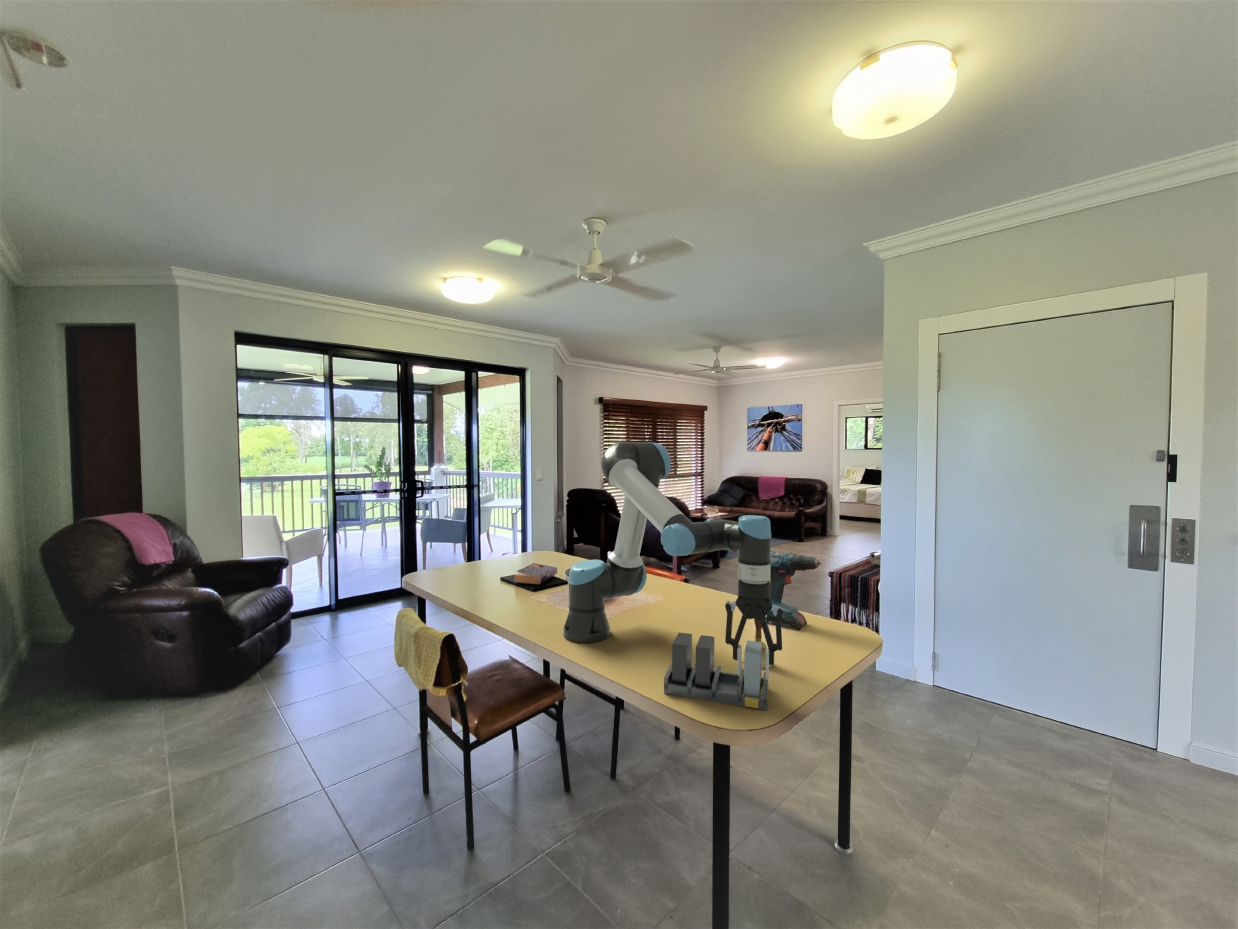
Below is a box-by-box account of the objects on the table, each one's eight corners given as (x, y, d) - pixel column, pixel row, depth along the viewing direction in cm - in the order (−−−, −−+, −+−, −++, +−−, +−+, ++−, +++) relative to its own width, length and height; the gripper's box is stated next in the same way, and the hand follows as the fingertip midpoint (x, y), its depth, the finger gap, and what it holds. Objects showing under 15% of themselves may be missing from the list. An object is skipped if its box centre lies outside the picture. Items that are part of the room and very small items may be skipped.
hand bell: (750, 654, 142) (750, 600, 141) (777, 662, 136) (778, 606, 136) (737, 663, 135) (738, 607, 135) (766, 672, 130) (766, 613, 130)
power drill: (817, 635, 157) (818, 559, 156) (749, 620, 171) (750, 550, 170) (824, 627, 164) (825, 554, 163) (759, 613, 178) (759, 546, 177)
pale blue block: (743, 699, 113) (744, 652, 113) (746, 683, 121) (747, 640, 121) (759, 701, 112) (759, 654, 112) (761, 686, 120) (761, 642, 119)
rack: (663, 694, 117) (663, 646, 117) (673, 674, 128) (673, 629, 128) (766, 712, 110) (767, 659, 109) (768, 688, 121) (768, 641, 120)
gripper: (712, 580, 115) (711, 676, 116) (796, 587, 109) (794, 688, 110) (716, 573, 123) (715, 663, 123) (795, 579, 117) (794, 674, 117)
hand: (753, 674), depth 116 cm, fingers open, 6 cm apart
